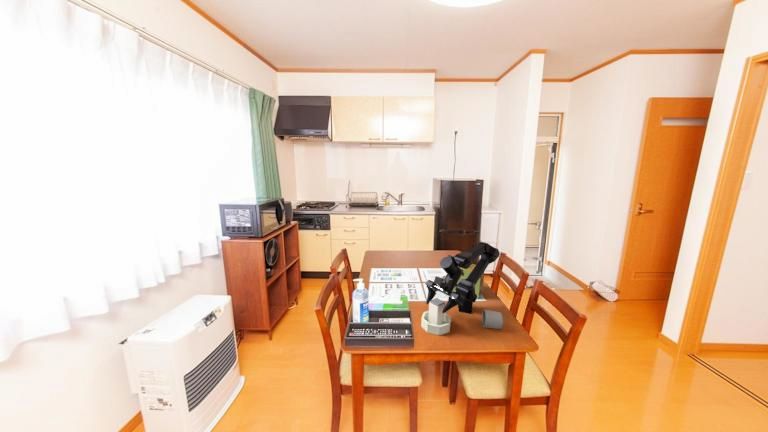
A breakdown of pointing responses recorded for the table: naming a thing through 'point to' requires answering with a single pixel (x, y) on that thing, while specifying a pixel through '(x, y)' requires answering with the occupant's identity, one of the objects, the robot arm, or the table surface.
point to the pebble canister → (436, 312)
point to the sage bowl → (435, 328)
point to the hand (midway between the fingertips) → (434, 308)
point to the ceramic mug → (492, 319)
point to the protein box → (478, 285)
